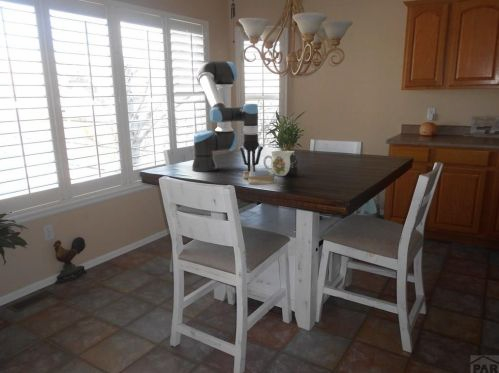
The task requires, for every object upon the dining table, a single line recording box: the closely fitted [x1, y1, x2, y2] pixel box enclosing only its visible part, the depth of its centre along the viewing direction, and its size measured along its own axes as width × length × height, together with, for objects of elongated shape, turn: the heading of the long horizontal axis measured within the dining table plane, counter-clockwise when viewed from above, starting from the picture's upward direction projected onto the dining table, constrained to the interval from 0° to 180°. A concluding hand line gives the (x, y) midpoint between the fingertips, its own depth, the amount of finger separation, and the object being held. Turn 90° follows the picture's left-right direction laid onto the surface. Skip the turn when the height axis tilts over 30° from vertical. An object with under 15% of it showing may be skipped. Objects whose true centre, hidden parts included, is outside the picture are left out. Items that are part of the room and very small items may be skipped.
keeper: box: [254, 167, 270, 176], centre depth 214 cm, size 7×7×6 cm
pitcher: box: [263, 150, 295, 177], centre depth 228 cm, size 11×18×14 cm, turn 76°
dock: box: [242, 170, 275, 185], centre depth 214 cm, size 15×14×4 cm
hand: (251, 177), depth 214 cm, fingers closed
